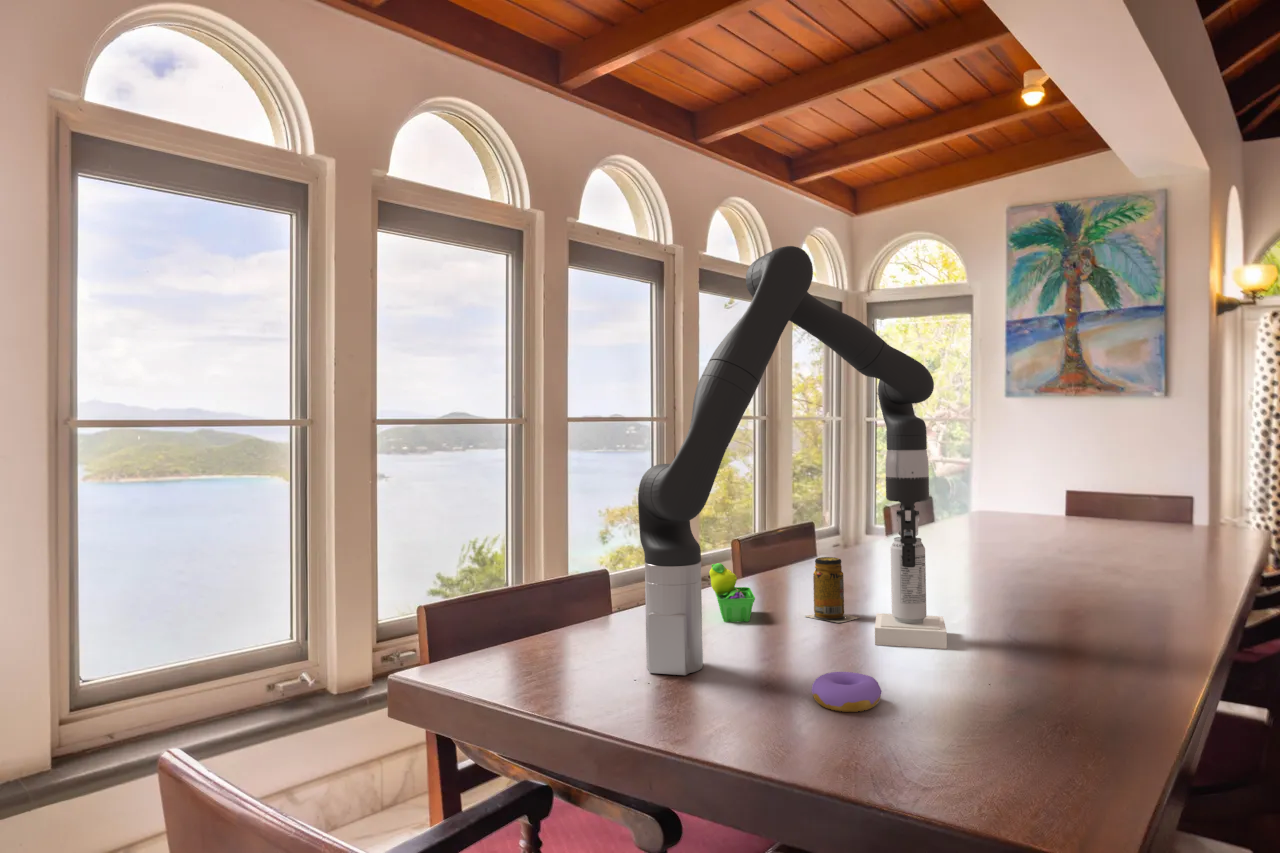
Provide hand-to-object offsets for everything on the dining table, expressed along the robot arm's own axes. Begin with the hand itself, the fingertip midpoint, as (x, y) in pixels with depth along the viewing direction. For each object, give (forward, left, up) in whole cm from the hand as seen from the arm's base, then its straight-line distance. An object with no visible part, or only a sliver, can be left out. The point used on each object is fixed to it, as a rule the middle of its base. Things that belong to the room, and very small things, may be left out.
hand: (908, 563), depth 152 cm
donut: (-39, +9, -14) cm, 42 cm away
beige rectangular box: (0, 0, -14) cm, 14 cm away
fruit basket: (+10, +35, -14) cm, 39 cm away
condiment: (+14, +15, -14) cm, 25 cm away
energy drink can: (0, 0, -11) cm, 11 cm away
